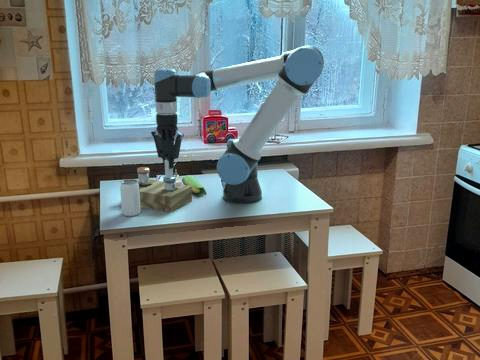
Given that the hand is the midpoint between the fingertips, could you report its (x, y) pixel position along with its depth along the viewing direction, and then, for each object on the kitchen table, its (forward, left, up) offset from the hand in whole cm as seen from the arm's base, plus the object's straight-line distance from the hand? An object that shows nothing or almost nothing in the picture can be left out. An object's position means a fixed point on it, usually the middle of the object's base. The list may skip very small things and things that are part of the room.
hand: (169, 176), depth 187 cm
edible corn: (+1, -18, -11) cm, 22 cm away
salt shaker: (0, 0, -9) cm, 9 cm away
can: (+7, +14, -11) cm, 19 cm away
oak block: (+6, 0, -11) cm, 12 cm away
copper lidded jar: (+12, 0, -7) cm, 14 cm away
